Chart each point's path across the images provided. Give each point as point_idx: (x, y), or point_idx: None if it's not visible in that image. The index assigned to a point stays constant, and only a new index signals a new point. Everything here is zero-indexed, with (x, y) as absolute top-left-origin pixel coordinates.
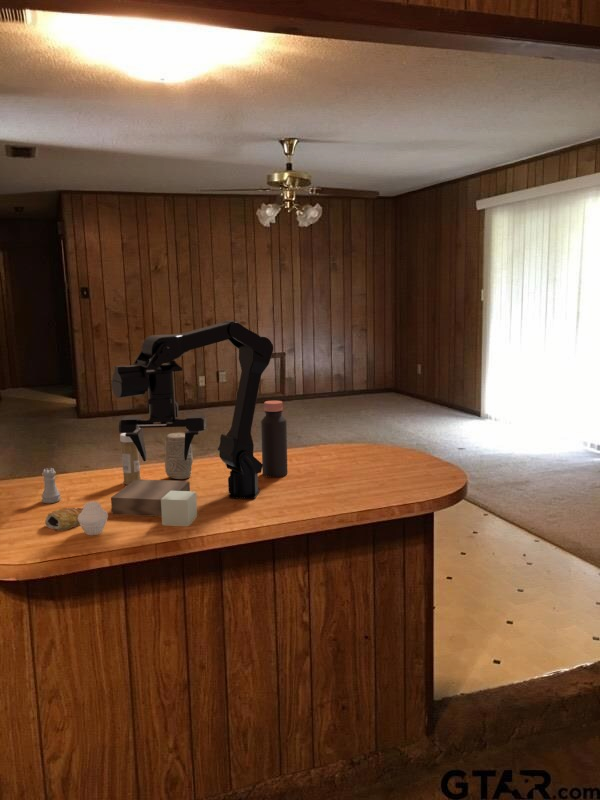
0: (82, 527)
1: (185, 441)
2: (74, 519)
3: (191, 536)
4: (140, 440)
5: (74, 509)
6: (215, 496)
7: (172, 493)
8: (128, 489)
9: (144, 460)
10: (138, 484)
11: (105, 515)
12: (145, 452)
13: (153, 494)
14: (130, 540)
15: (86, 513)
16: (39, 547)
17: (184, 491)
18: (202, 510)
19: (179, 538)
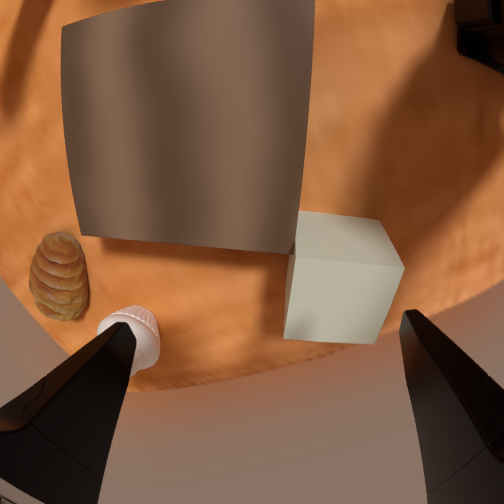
0: None
1: (431, 488)
2: (79, 301)
3: None
4: (94, 480)
5: (54, 285)
6: (407, 19)
7: (312, 289)
8: (85, 147)
9: (132, 348)
10: (92, 79)
11: (155, 353)
12: (105, 363)
13: (204, 194)
14: (239, 353)
15: None
16: None
17: (358, 266)
18: (390, 164)
19: (345, 345)
